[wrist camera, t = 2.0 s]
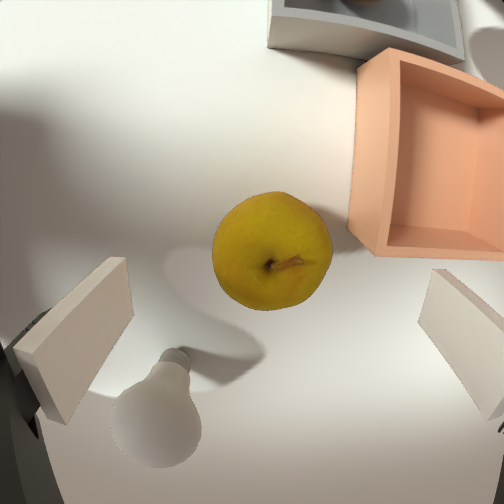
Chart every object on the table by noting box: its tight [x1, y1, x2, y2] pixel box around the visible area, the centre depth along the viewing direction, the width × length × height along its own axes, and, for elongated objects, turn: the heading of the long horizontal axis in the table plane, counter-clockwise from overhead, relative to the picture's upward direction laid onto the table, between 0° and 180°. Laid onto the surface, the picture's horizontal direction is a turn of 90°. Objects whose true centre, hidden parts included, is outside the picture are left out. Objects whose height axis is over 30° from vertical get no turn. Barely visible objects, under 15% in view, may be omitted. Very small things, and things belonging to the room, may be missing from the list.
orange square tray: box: [347, 47, 504, 261], centre depth 16 cm, size 11×11×6 cm
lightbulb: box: [110, 348, 201, 468], centre depth 19 cm, size 6×6×11 cm
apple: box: [212, 192, 333, 311], centre depth 17 cm, size 6×6×8 cm
